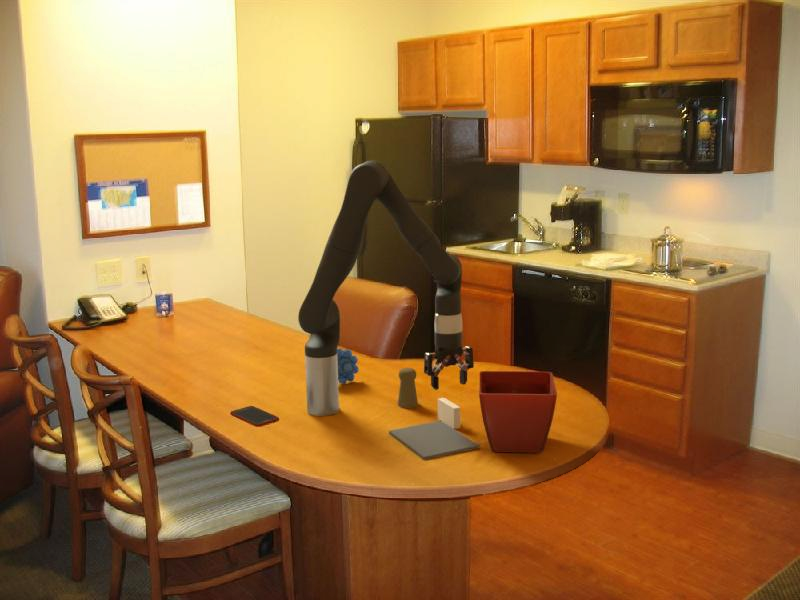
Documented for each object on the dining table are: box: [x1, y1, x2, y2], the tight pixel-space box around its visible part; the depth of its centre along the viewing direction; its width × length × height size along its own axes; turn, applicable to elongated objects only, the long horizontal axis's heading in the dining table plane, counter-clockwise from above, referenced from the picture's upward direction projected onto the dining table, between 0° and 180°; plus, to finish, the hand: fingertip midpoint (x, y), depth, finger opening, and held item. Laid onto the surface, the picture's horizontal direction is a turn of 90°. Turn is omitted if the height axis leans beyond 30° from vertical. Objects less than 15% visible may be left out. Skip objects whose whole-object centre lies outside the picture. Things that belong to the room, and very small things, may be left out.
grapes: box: [337, 347, 360, 385], centre depth 270 cm, size 12×7×12 cm, turn 127°
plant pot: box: [478, 370, 558, 454], centre depth 221 cm, size 19×19×17 cm
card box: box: [437, 397, 461, 430], centre depth 237 cm, size 9×2×6 cm, turn 27°
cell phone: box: [230, 405, 280, 427], centre depth 245 cm, size 8×15×1 cm, turn 42°
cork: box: [397, 367, 419, 409], centre depth 252 cm, size 6×6×11 cm
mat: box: [388, 420, 480, 461], centre depth 225 cm, size 20×16×1 cm
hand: (449, 386), depth 235 cm, fingers open, 8 cm apart
